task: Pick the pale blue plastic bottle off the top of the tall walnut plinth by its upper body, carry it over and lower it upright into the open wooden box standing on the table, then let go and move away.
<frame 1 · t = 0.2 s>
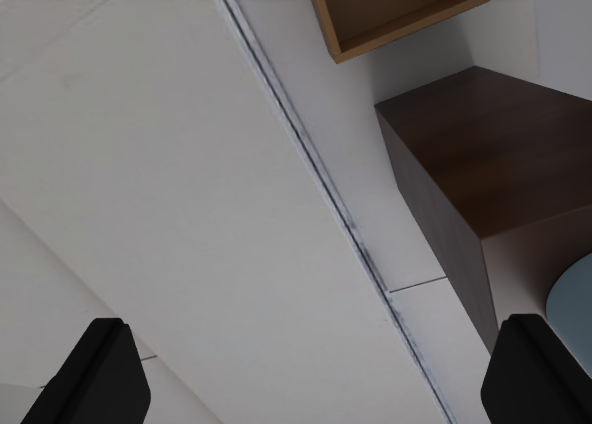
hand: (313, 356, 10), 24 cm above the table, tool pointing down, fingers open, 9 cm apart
plinth: (434, 132, 31), on the table
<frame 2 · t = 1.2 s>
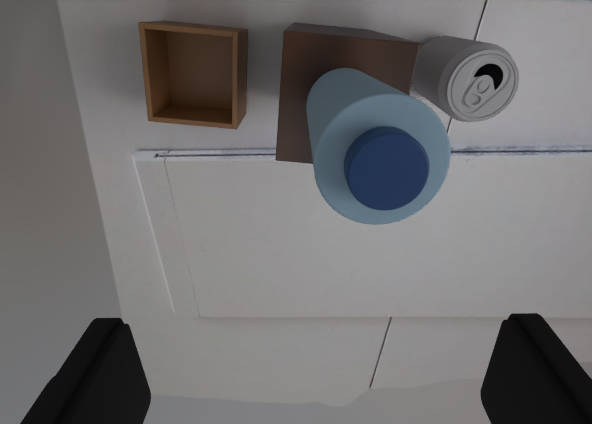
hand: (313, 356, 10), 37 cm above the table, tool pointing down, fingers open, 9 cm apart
plinth: (327, 66, 41), on the table
open wooden box: (206, 69, 42), on the table
beverage can: (437, 67, 41), on the table
bottle: (342, 106, 24), point 20 cm above the table, touching plinth
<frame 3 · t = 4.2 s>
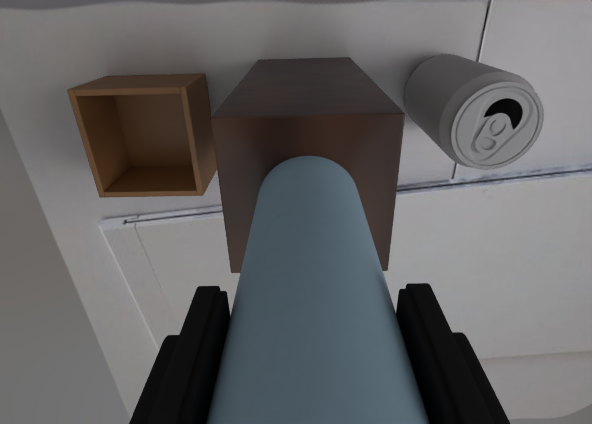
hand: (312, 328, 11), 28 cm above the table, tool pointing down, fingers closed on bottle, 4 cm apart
plinth: (304, 104, 35), on the table
open wooden box: (165, 124, 36), on the table
beverage can: (436, 90, 34), on the table
bottle: (308, 202, 17), point 20 cm above the table, touching gripper, plinth
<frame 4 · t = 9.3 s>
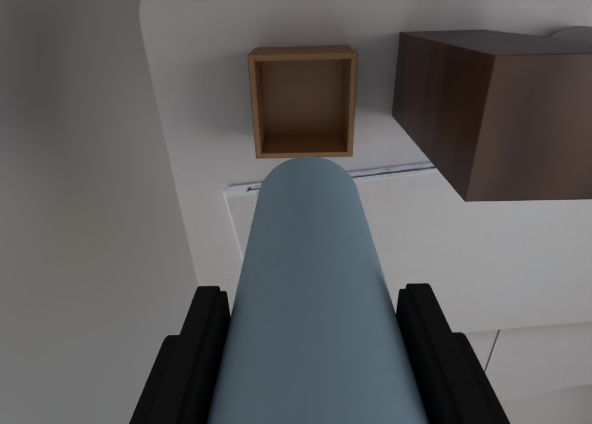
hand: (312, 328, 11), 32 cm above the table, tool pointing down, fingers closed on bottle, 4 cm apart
plinth: (435, 75, 38), on the table
open wooden box: (302, 94, 39), on the table
beverage can: (559, 61, 37), on the table
bottle: (308, 203, 17), point 24 cm above the table, touching gripper
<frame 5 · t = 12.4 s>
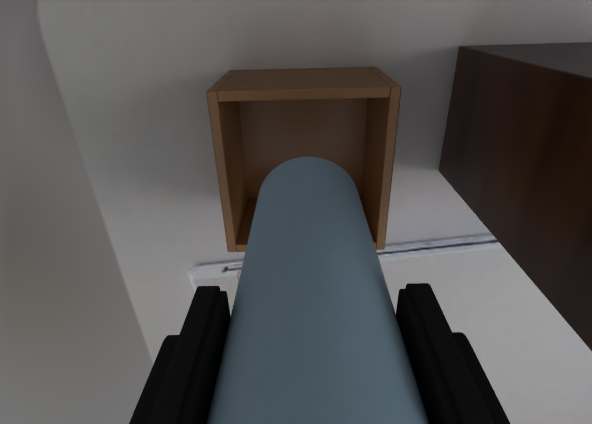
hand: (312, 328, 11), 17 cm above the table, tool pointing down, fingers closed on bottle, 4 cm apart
plinth: (510, 112, 24), on the table
open wooden box: (303, 139, 25), on the table
bottle: (308, 203, 17), point 9 cm above the table, touching gripper
when the fingers open (8 cm above the table, at t = 14.7 s): bottle stays where it is, resting on open wooden box.
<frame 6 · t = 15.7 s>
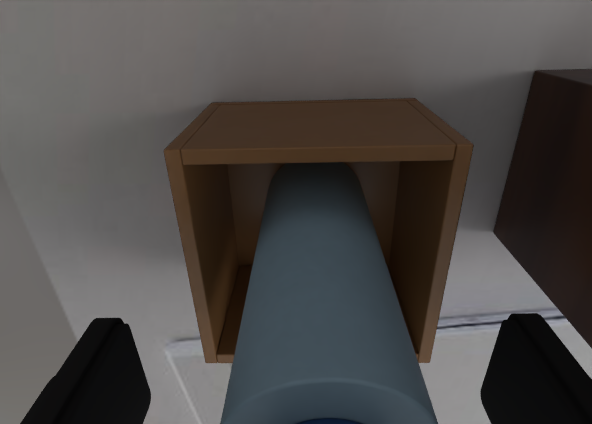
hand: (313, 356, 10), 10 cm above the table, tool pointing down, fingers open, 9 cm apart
open wooden box: (312, 192, 19), on the table
bottle: (314, 198, 18), resting on open wooden box
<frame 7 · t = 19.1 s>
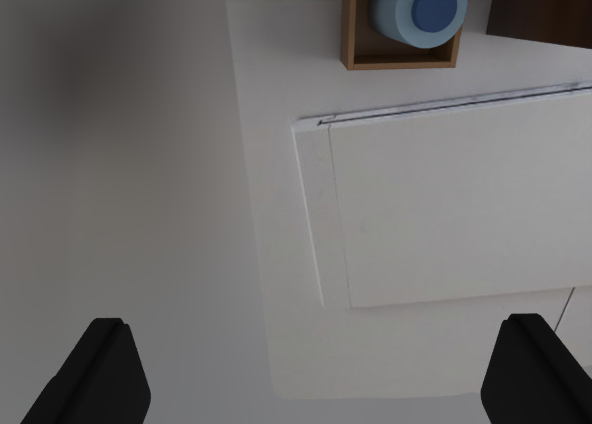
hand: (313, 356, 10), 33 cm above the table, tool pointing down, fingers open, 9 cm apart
open wooden box: (390, 8, 35), on the table
bottle: (391, 9, 35), resting on open wooden box
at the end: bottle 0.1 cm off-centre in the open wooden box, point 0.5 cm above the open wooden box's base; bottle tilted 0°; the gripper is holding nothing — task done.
